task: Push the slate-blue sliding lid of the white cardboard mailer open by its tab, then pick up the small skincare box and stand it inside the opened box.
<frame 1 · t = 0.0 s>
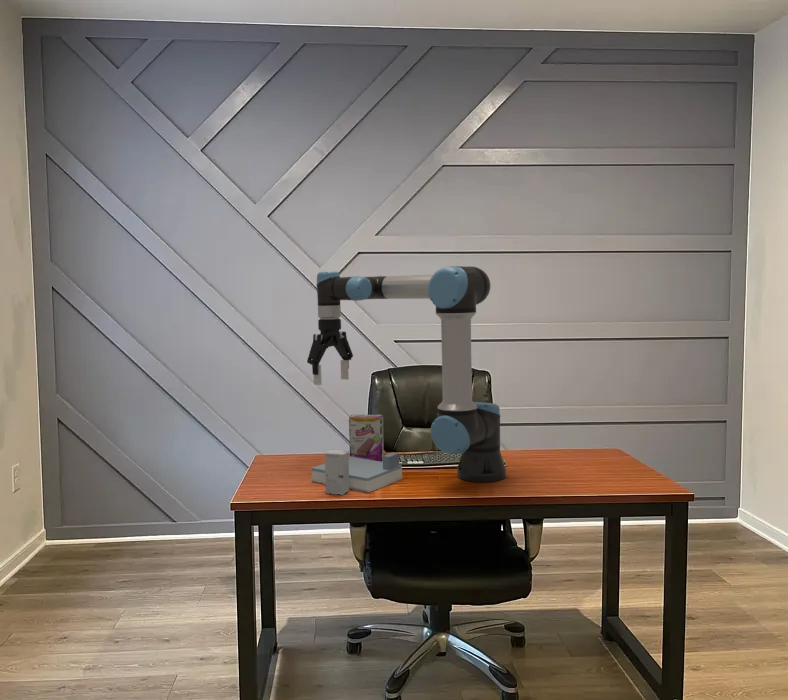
hand: (331, 381, 232), 28 cm above the table, tool pointing down, fingers open, 13 cm apart
candy bar box: (367, 464, 235), on the table
skincare box: (337, 493, 203), on the table
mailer: (357, 480, 215), on the table
lid: (356, 461, 214), point 6 cm above the table, slide at 0.0 cm
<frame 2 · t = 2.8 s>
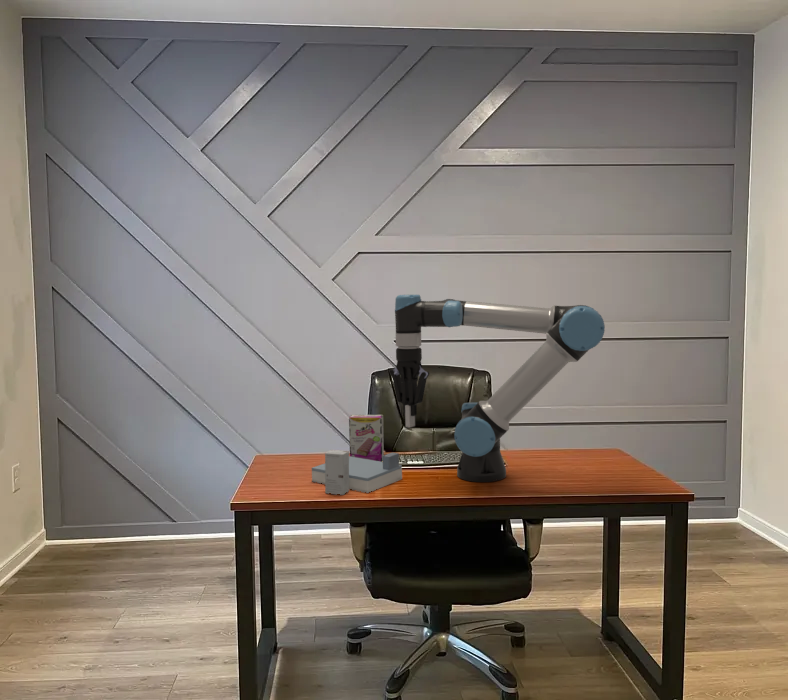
hand: (410, 426, 206), 18 cm above the table, tool pointing down, fingers closed
nothing on the table moved.
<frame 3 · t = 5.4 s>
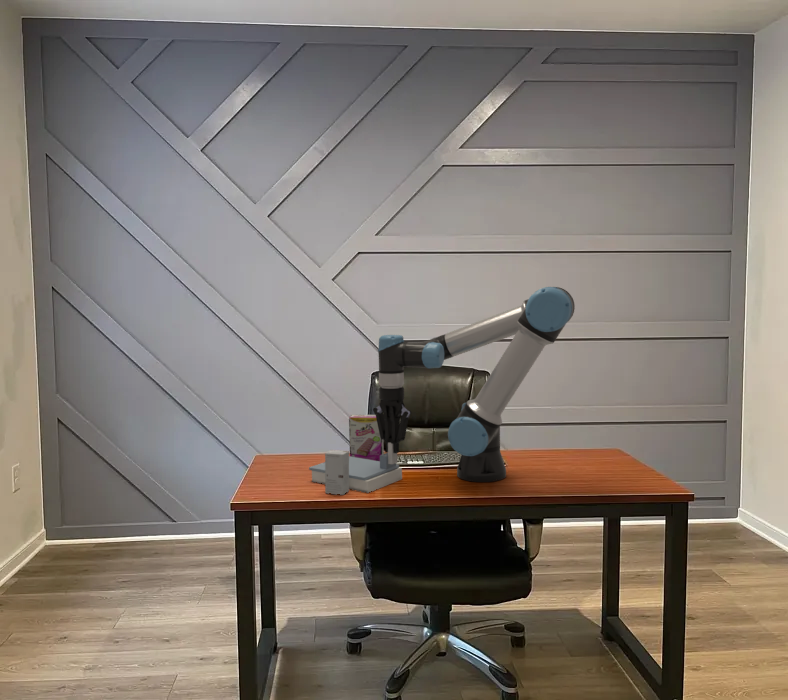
hand: (392, 463, 211), 6 cm above the table, tool pointing down, fingers closed
lid: (353, 460, 215), point 6 cm above the table, slide at 1.1 cm, touching gripper
everything else where it was.
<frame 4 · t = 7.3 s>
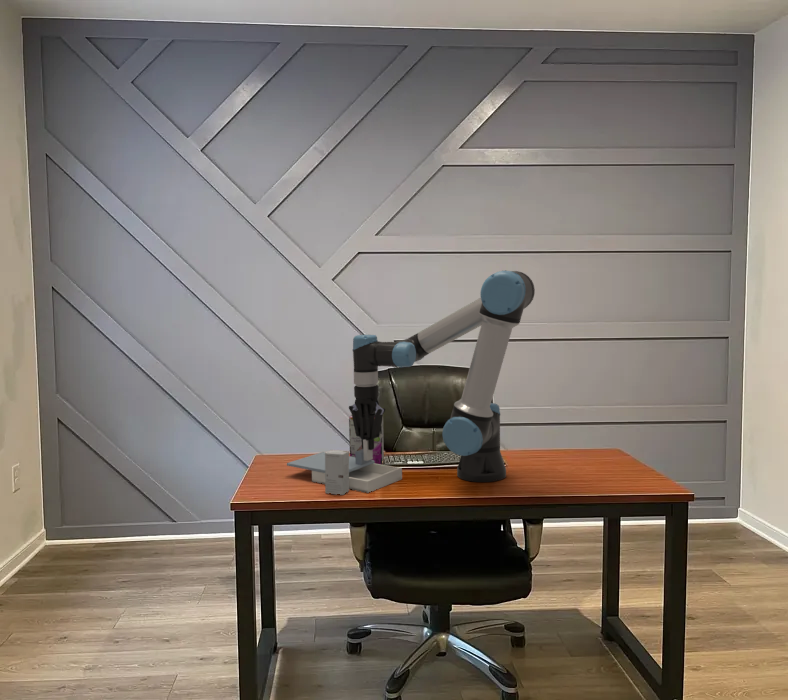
hand: (368, 459, 217), 6 cm above the table, tool pointing down, fingers closed
lid: (330, 456, 220), point 6 cm above the table, slide at 10.7 cm, touching gripper
everything else where it was.
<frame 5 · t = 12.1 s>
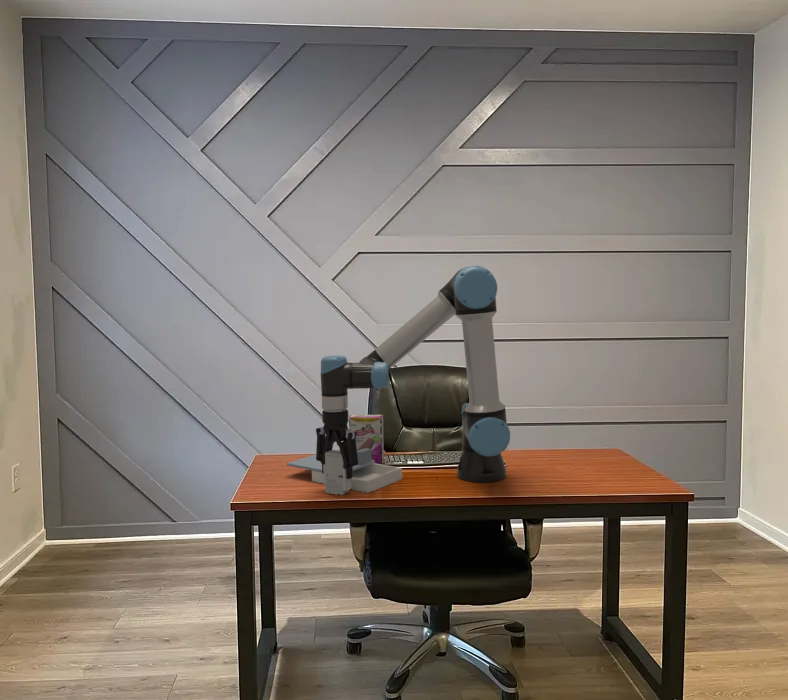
hand: (337, 487, 203), 2 cm above the table, tool pointing down, fingers closed on skincare box, 7 cm apart
skincare box: (337, 493, 203), on the table, touching gripper
lid: (330, 456, 220), point 6 cm above the table, slide at 10.7 cm
everything else where it was.
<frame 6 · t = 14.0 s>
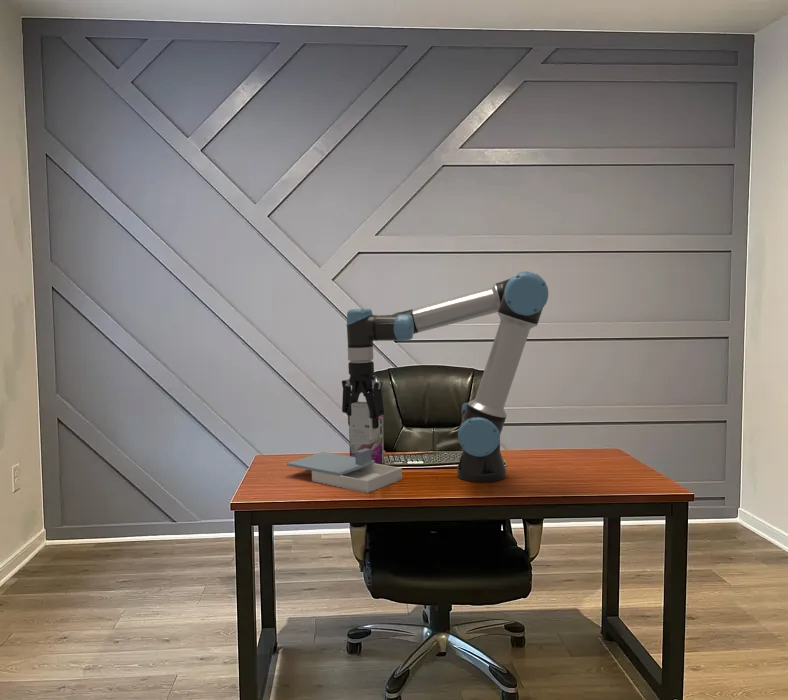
hand: (363, 437, 207), 15 cm above the table, tool pointing down, fingers closed on skincare box, 7 cm apart
skincare box: (364, 443, 208), point 13 cm above the table, touching gripper
everything else where it was.
when the fingers open (4 cm above the table, at t = 16.3 s): skincare box drops 2 cm, resting on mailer.
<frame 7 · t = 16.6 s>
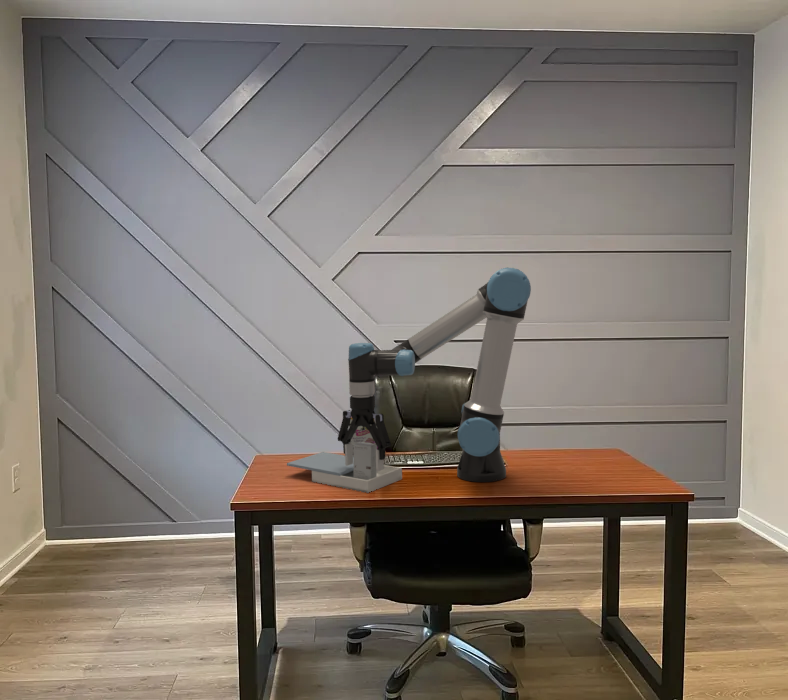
hand: (364, 467, 208), 6 cm above the table, tool pointing down, fingers open, 11 cm apart
skincare box: (365, 484, 209), resting on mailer
everything else where it was.
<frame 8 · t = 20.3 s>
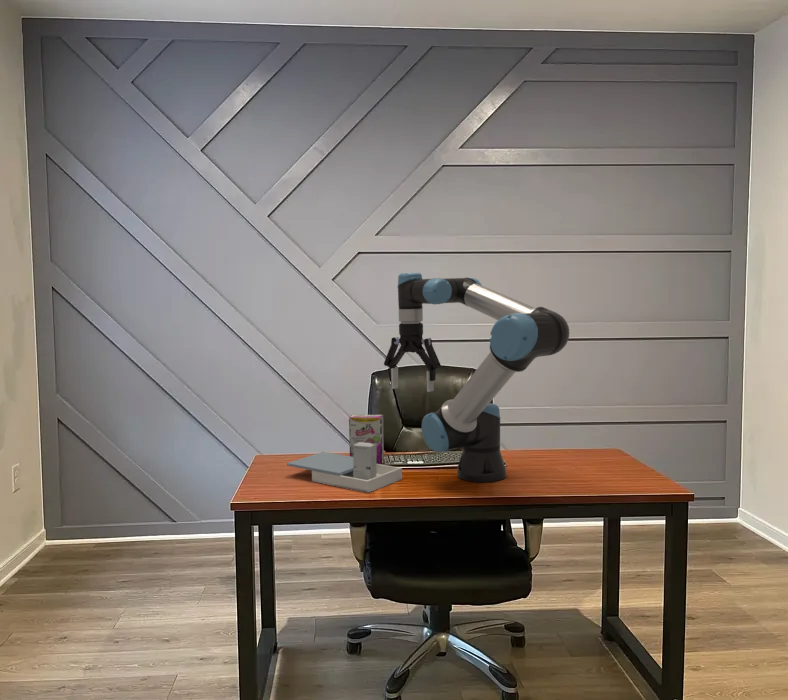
hand: (412, 389, 219), 27 cm above the table, tool pointing down, fingers open, 13 cm apart
nothing on the table moved.
at the end: lid slide at 10.7 cm; skincare box inside the target area (3.1 cm from its centre), resting on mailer; skincare box tilted 0° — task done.
